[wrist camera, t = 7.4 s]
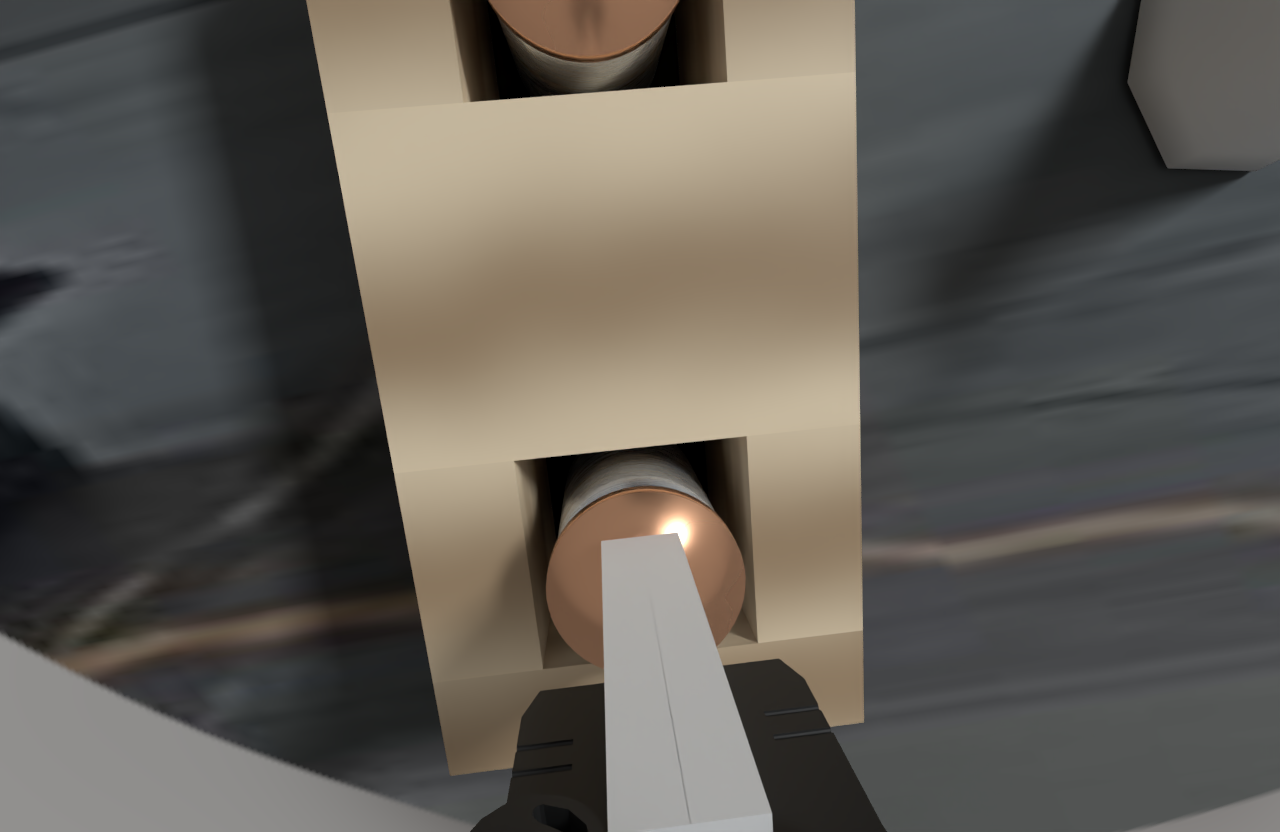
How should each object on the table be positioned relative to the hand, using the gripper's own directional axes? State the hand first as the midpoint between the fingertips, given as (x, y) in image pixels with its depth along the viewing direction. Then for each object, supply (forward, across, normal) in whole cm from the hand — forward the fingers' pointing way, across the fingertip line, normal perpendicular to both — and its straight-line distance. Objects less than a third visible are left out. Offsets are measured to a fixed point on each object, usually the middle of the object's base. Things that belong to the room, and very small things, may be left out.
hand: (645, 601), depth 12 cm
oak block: (+8, 0, +6) cm, 10 cm away
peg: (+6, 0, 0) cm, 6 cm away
